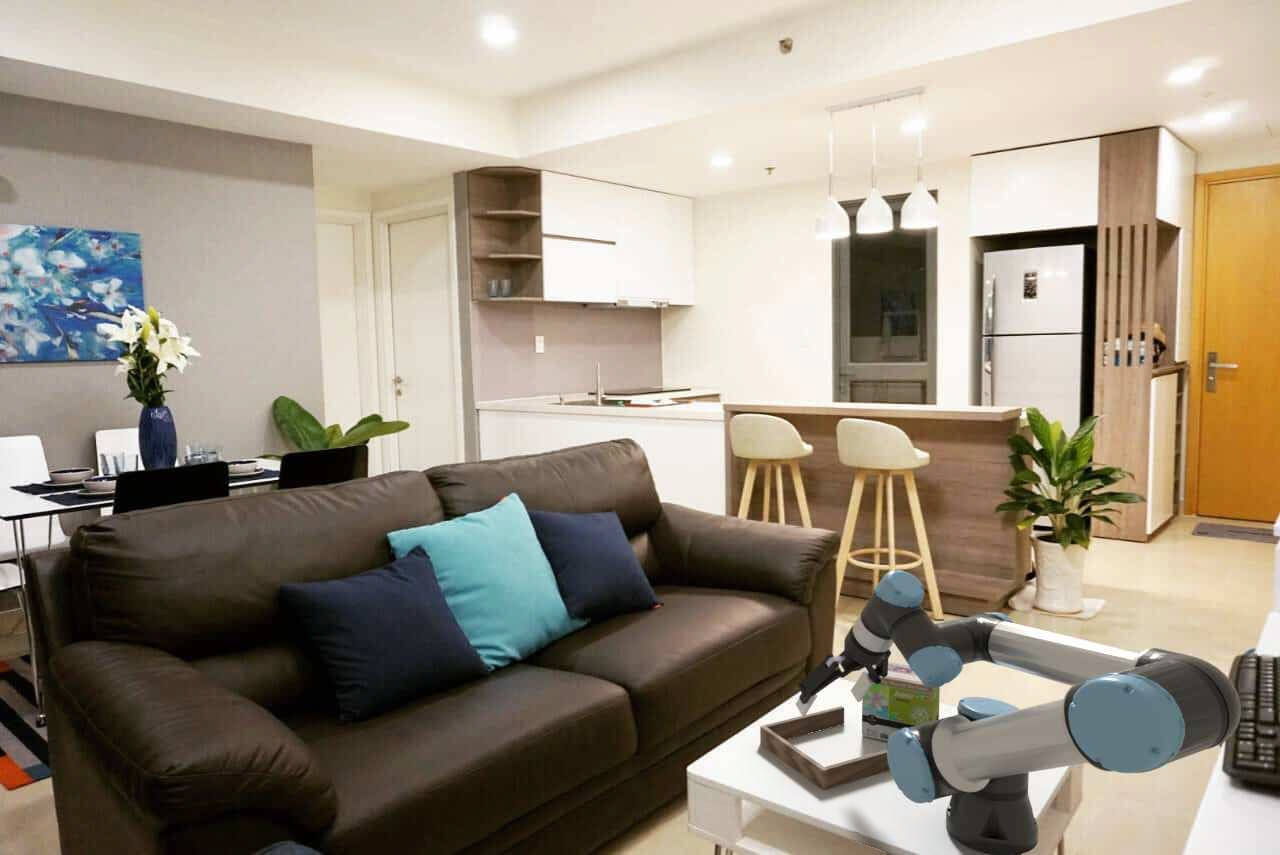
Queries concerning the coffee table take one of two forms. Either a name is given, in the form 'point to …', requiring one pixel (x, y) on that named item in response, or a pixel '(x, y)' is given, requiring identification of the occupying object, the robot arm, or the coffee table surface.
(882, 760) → the frame
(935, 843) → the coffee table surface
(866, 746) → the coffee table surface
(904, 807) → the coffee table surface
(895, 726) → the tea box
